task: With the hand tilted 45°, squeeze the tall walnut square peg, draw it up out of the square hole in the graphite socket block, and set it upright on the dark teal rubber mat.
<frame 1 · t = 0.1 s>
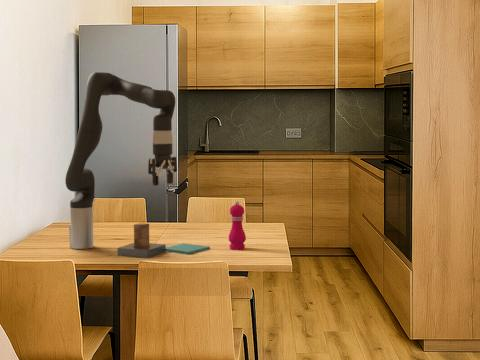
hand: (162, 184, 296), 29 cm above the table, tool pointing down, fingers open, 8 cm apart
pepper mill: (237, 249, 320), on the table
teal mat: (186, 249, 318), on the table
socket block: (141, 253, 311), on the table
walnut peg: (141, 238, 310), in the socket block
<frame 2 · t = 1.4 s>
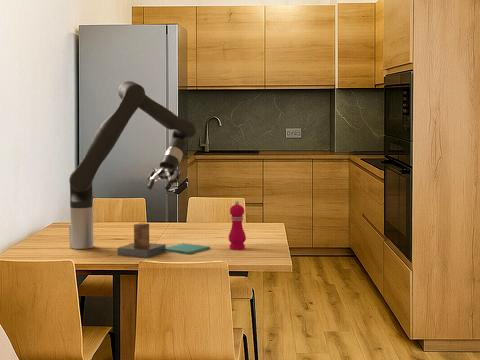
hand: (157, 188, 322), 25 cm above the table, tool tilted 45°, fingers open, 8 cm apart
nothing on the table moved.
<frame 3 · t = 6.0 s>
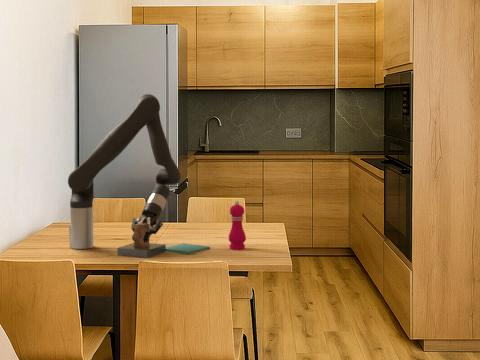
hand: (139, 240, 308), 6 cm above the table, tool tilted 45°, fingers closed on walnut peg, 4 cm apart
walnut peg: (141, 238, 310), in the socket block, touching gripper
everything else where it was.
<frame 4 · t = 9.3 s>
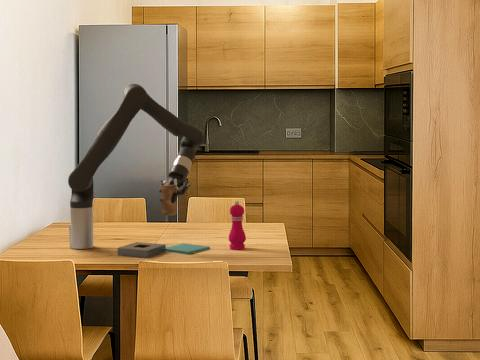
hand: (166, 201, 311), 21 cm above the table, tool tilted 45°, fingers closed on walnut peg, 4 cm apart
walnut peg: (169, 199, 313), point 21 cm above the table, touching gripper
everything else where it was.
when the fingers open (8 cm above the table, at t = 12.5 s): walnut peg drops 1 cm, resting on teal mat.
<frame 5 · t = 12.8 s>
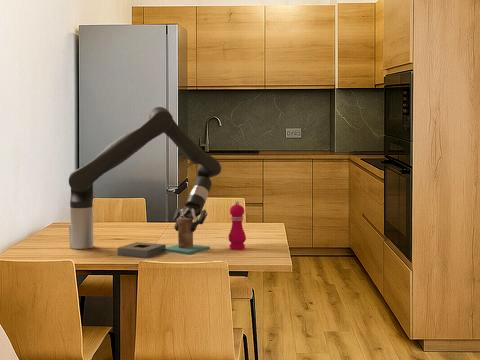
hand: (184, 230, 316), 8 cm above the table, tool tilted 45°, fingers open, 6 cm apart
walnut peg: (185, 233, 317), on the teal mat, point 7 cm above the table
everything else where it was.
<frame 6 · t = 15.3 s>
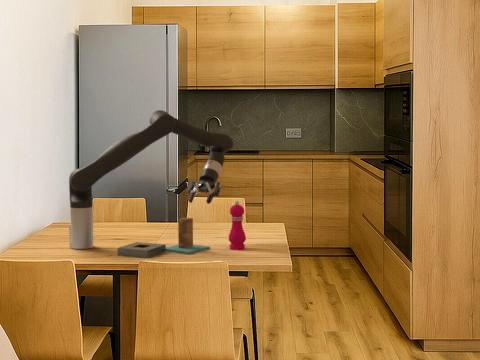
hand: (198, 202, 326), 19 cm above the table, tool tilted 45°, fingers open, 8 cm apart
nothing on the table moved.
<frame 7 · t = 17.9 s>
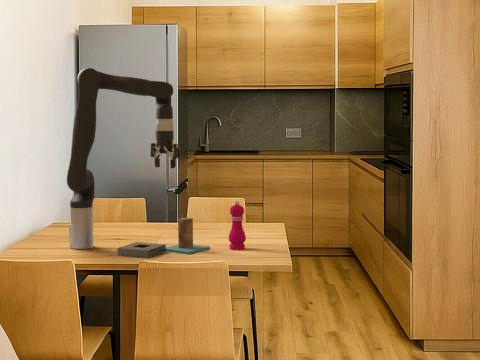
hand: (165, 167, 327), 33 cm above the table, tool pointing down, fingers open, 8 cm apart
nothing on the table moved.
at the end: walnut peg inside the target area on the teal mat (0.2 cm from its centre), point 7.0 cm above the teal mat's base; walnut peg tilted 0°; the gripper is holding nothing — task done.
